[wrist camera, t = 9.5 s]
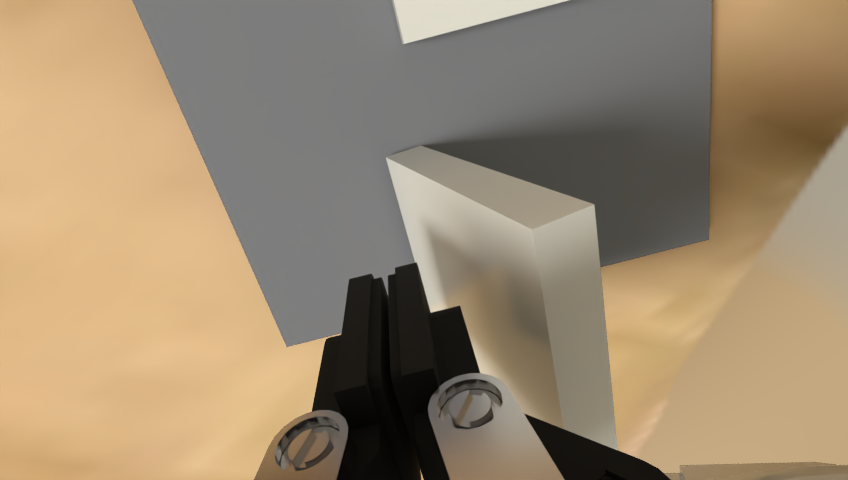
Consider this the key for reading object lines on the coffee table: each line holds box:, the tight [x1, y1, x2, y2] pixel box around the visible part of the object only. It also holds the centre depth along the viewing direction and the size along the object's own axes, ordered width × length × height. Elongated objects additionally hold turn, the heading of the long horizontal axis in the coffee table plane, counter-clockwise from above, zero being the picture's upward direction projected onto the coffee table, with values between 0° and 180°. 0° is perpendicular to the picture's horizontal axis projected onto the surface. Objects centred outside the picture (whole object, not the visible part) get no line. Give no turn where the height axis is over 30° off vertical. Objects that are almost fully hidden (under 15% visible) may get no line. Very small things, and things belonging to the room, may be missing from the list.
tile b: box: [386, 146, 618, 450], centre depth 12 cm, size 6×1×8 cm, turn 14°
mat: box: [132, 0, 712, 347], centre depth 14 cm, size 16×16×1 cm
